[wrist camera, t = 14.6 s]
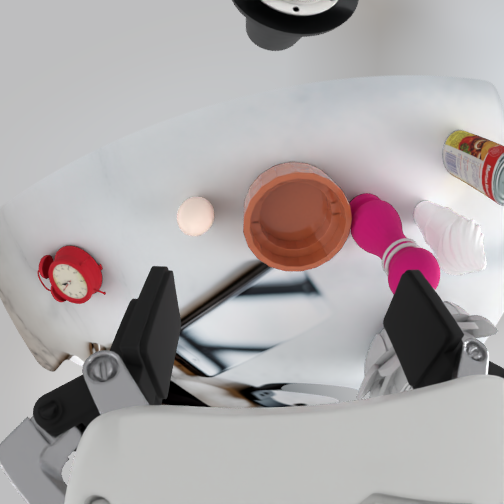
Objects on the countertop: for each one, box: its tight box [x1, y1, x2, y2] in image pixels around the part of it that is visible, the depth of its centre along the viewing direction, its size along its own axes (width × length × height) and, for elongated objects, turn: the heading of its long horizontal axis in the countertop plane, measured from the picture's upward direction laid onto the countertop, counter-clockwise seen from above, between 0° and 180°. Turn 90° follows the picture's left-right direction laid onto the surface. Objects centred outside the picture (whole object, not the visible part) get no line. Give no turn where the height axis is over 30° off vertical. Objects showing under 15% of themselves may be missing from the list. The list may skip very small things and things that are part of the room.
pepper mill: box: [349, 193, 440, 294], centre depth 31 cm, size 7×7×20 cm
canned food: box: [443, 130, 504, 206], centre depth 29 cm, size 8×8×12 cm
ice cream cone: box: [413, 201, 487, 275], centre depth 33 cm, size 8×8×16 cm
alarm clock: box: [38, 246, 106, 304], centre depth 42 cm, size 10×6×15 cm
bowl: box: [243, 162, 352, 271], centre depth 37 cm, size 14×14×6 cm
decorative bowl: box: [357, 301, 498, 400], centre depth 48 cm, size 30×30×15 cm
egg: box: [177, 197, 214, 236], centre depth 36 cm, size 5×5×7 cm
